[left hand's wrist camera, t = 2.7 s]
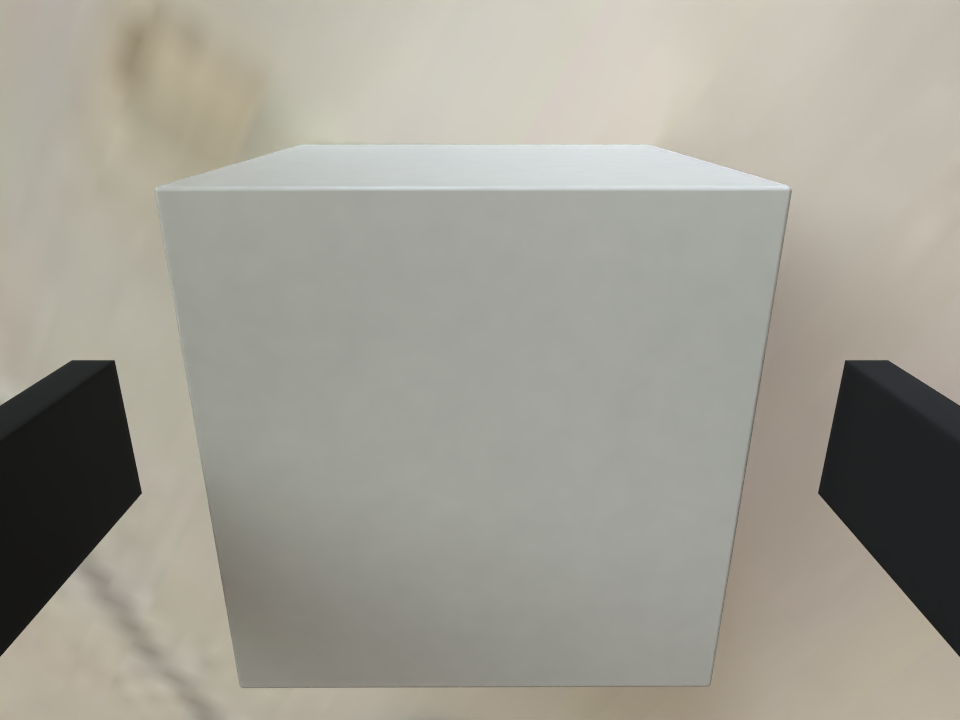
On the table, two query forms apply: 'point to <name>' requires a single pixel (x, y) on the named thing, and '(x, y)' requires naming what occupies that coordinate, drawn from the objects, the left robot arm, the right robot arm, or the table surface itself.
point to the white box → (474, 406)
